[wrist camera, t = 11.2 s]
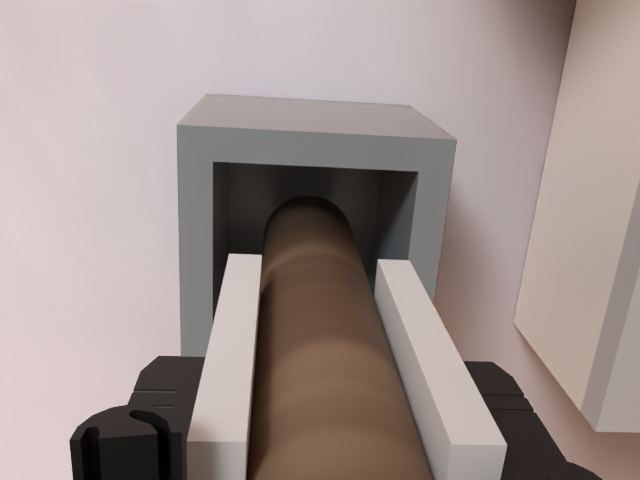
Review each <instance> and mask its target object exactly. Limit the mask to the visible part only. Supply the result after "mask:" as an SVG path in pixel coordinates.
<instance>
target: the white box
mask: <svg viewBox="0 0 640 480" xmlns="http://www.w3.org/2000/svg"><path fill="white" fill-rule="evenodd" d="M513 323H514V324H515V326H516V327H517V328H518V330H519V331H520V332H521V334H522V335H523V336H524V338H525V339H526V340H527V341H528V343H529V344H530V345H531V347H532V348H533V349H534V351H535V352H536V353H537V355H538V356H539V357H540V359H541V360H542V361H543V363H544V364H545V365H546V367H547V368H548V369H549V371H550V372H551V373H552V375H553V376H554V377H555V379H556V380H557V381H558V383H559V384H560V385H561V387H562V388H563V389H564V391H565V392H566V393H567V395H568V396H569V397H570V399H571V400H572V401H573V403H574V404H575V405H576V407H577V408H578V409H579V411H580V412H581V413H582V415H583V416H584V417H585V419H586V420H587V421H588V423H589V424H590V425H591V427H592V428H593V429H594V431H595V432H634V433H640V0H577V2H576V7H575V12H574V17H573V22H572V27H571V32H570V37H569V42H568V48H567V53H566V58H565V63H564V68H563V73H562V78H561V83H560V88H559V93H558V98H557V103H556V108H555V113H554V119H553V124H552V129H551V134H550V139H549V144H548V149H547V154H546V159H545V164H544V169H543V174H542V179H541V184H540V190H539V195H538V200H537V205H536V210H535V215H534V220H533V225H532V230H531V235H530V240H529V245H528V250H527V255H526V261H525V266H524V271H523V276H522V281H521V286H520V291H519V296H518V301H517V306H516V311H515V316H514V321H513Z"/></svg>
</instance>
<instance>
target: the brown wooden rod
mask: <svg viewBox="0 0 640 480" xmlns="http://www.w3.org/2000/svg"><path fill="white" fill-rule="evenodd" d="M247 480H433V477H432V474H431V471H430V468H429V465H428V462H427V459H426V456H425V453H424V450H423V447H422V444H421V441H420V438H419V435H418V432H417V428H416V425H415V422H414V419H413V416H412V413H411V410H410V407H409V404H408V401H407V398H406V395H405V392H404V389H403V386H402V383H401V380H400V377H399V374H398V371H397V367H396V364H395V361H394V358H393V355H392V352H391V349H390V346H389V343H388V340H387V337H386V334H385V331H384V328H383V325H382V322H381V319H380V316H379V313H378V310H377V306H376V303H375V300H374V297H373V294H372V291H371V288H370V285H369V282H368V279H367V276H366V273H365V270H364V267H363V264H362V261H361V258H360V255H359V252H358V248H357V245H356V242H355V239H354V236H353V233H352V230H351V227H350V224H349V222H348V219H347V217H346V216H345V214H344V213H343V212H342V210H341V209H340V208H339V207H338V206H336V205H335V204H334V203H332V202H330V201H328V200H326V199H324V198H321V197H316V196H300V197H296V198H293V199H290V200H288V201H286V202H284V203H283V204H281V205H280V206H279V207H277V209H276V210H275V211H274V212H273V213H272V214H271V216H270V217H269V219H268V221H267V224H266V226H265V230H264V240H263V252H262V272H261V298H260V311H259V324H258V337H257V350H256V363H255V376H254V389H253V402H252V415H251V428H250V441H249V454H248V467H247Z"/></svg>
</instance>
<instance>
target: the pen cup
mask: <svg viewBox="0 0 640 480" xmlns="http://www.w3.org/2000/svg"><path fill="white" fill-rule="evenodd" d="M456 143H457V139H455V138H454V137H453V136H451V135H450V134H448V133H447V132H446V131H444V130H443V129H441V128H440V127H439V126H437V125H436V124H434V123H433V122H432V121H430V120H429V119H427V118H426V117H425V116H423V115H422V114H420V113H419V112H418V111H416V110H415V109H413V108H412V107H411V106H409V105H392V104H375V103H357V102H340V101H322V100H305V99H287V98H270V97H252V96H235V95H217V94H206V95H205V96H204V97H203V98H202V99H201V100H200V101H199V102H198V103H197V104H196V105H195V106H194V107H193V108H192V109H191V110H190V111H189V112H188V113H187V115H186V116H185V117H184V118H183V119H182V120H181V121H180V122H179V123H178V124H177V164H178V217H179V269H180V321H181V356H183V357H206V353H207V349H208V344H209V340H210V335H211V331H212V327H213V322H214V318H215V313H216V309H217V305H218V300H219V296H220V291H221V287H222V282H223V278H224V274H225V269H226V265H227V260H228V256H229V254H253V255H262V252H263V240H264V230H265V226H266V224H267V221H268V219H269V217H270V216H271V214H272V213H273V212H274V211H275V210H276V209H277V207H279V206H280V205H281V204H283V203H284V202H286V201H288V200H290V199H293V198H296V197H300V196H316V197H321V198H324V199H326V200H328V201H330V202H332V203H334V204H335V205H336V206H338V207H339V208H340V209H341V210H342V212H343V213H344V214H345V216H346V217H347V219H348V222H349V224H350V227H351V230H352V233H353V236H354V239H355V242H356V245H357V248H358V252H359V255H360V258H361V261H362V264H363V267H364V270H365V273H366V276H367V279H368V282H369V285H370V288H371V291H372V294H373V297H374V291H375V281H376V272H377V262H378V259H388V260H410V262H411V264H412V266H413V268H414V270H415V271H416V273H417V275H418V277H419V279H420V281H421V283H422V285H423V287H424V289H425V290H426V292H427V294H428V296H429V298H430V300H431V302H432V304H433V303H434V296H435V289H436V282H437V275H438V268H439V261H440V254H441V247H442V240H443V233H444V226H445V219H446V212H447V205H448V199H449V192H450V185H451V178H452V171H453V164H454V157H455V150H456Z"/></svg>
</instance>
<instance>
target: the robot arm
mask: <svg viewBox="0 0 640 480" xmlns="http://www.w3.org/2000/svg"><path fill="white" fill-rule="evenodd" d="M261 272H262V255H253V254H229V256H228V260H227V265H226V269H225V274H224V278H223V282H222V287H221V291H220V296H219V300H218V305H217V309H216V313H215V318H214V322H213V327H212V331H211V335H210V340H209V344H208V349H207V353H206V357H183V356H158V357H157V358H156V359H155V360H153V361H152V362H151V363H150V364H149V365H148V366H146V367H145V368H144V369H143V370H142V371H141V372H140V375H139V377H138V380H137V382H136V385H135V387H134V392H133V393H132V395H131V397H130V400H129V402H128V405H124V406H118V407H113V408H109V409H107V410H104V411H102V412H100V413H97V414H95V415H92V416H91V417H90V418H88V419H87V420H86V421H85V422H83V423H82V424H81V425H79V426H78V427H77V429H76V430H75V432H74V434H73V435H72V437H71V439H70V451H71V461H72V472H73V480H247V467H248V454H249V441H250V428H251V415H252V402H253V389H254V376H255V363H256V350H257V337H258V324H259V311H260V298H261ZM374 300H375V303H376V306H377V310H378V313H379V316H380V319H381V322H382V325H383V328H384V331H385V334H386V337H387V340H388V343H389V346H390V349H391V352H392V355H393V358H394V361H395V364H396V367H397V371H398V374H399V377H400V380H401V383H402V386H403V389H404V392H405V395H406V398H407V401H408V404H409V407H410V410H411V413H412V416H413V419H414V422H415V425H416V428H417V432H418V435H419V438H420V441H421V444H422V447H423V450H424V453H425V456H426V459H427V462H428V465H429V468H430V471H431V474H432V477H433V480H602V479H601V478H599V477H598V476H597V475H595V474H594V473H593V472H591V471H589V470H587V469H585V468H583V467H580V466H578V465H576V464H574V463H570V462H567V461H566V459H565V457H564V456H563V454H562V453H561V451H560V450H559V448H558V447H557V445H556V443H555V442H554V440H553V439H552V437H551V436H550V434H549V433H548V431H547V430H546V428H545V426H544V425H543V423H542V422H541V420H540V419H539V417H538V416H537V414H536V413H534V412H533V408H532V406H531V405H530V403H529V402H528V400H527V398H524V394H523V392H522V391H521V389H520V388H519V386H518V385H517V383H516V381H515V380H514V378H513V377H512V376H511V375H509V374H508V373H507V372H505V371H504V370H503V369H501V368H500V367H499V366H497V365H496V364H495V363H493V362H473V361H463V360H462V358H461V357H460V355H459V353H458V351H457V349H456V347H455V345H454V343H453V341H452V340H451V338H450V336H449V334H448V332H447V330H446V328H445V326H444V324H443V323H442V321H441V319H440V317H439V315H438V313H437V311H436V309H435V307H434V306H433V304H432V302H431V300H430V298H429V296H428V294H427V292H426V290H425V289H424V287H423V285H422V283H421V281H420V279H419V277H418V275H417V273H416V271H415V270H414V268H413V266H412V264H411V262H410V260H388V259H378V262H377V272H376V281H375V291H374Z"/></svg>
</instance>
